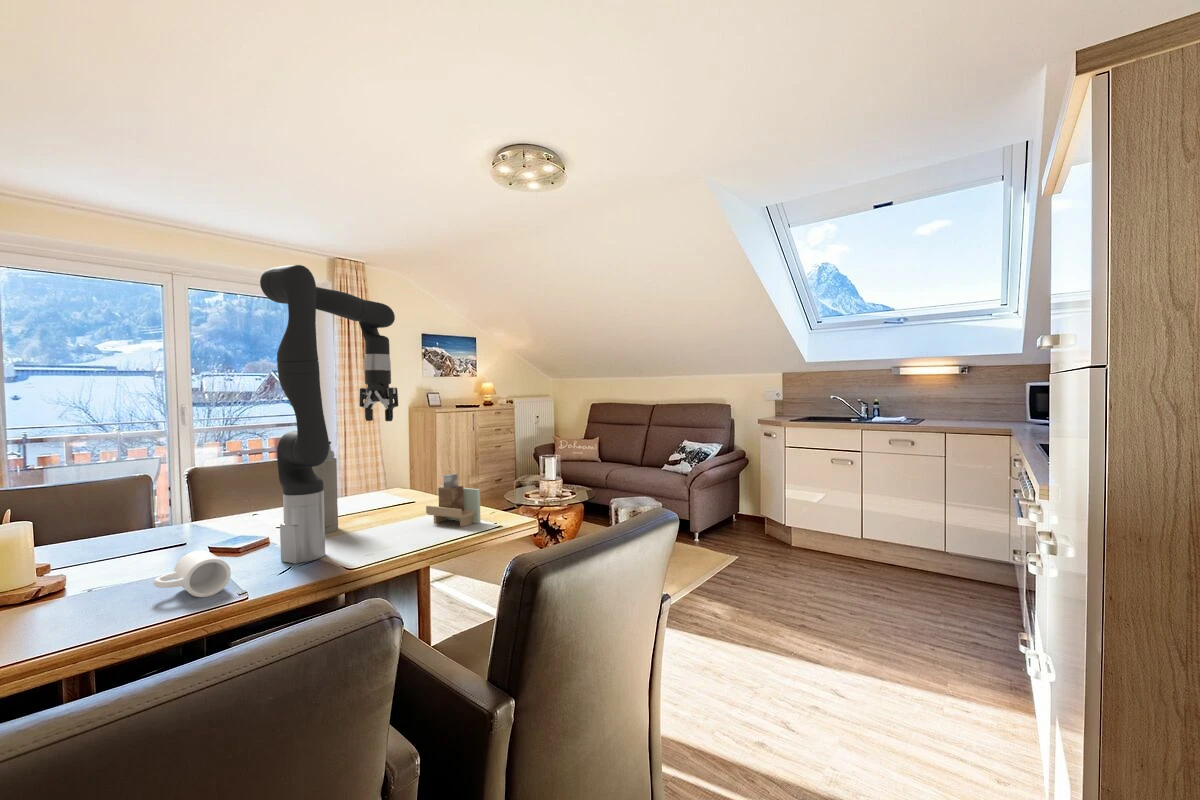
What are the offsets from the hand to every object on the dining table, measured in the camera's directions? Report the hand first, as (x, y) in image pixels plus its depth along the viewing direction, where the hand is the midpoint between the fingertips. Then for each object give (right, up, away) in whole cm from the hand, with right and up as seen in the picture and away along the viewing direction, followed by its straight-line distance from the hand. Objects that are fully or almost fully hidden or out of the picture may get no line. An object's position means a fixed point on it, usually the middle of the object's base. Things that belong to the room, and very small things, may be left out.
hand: (379, 421), depth 161 cm
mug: (-19, -36, -50) cm, 64 cm away
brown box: (+21, -30, +6) cm, 37 cm away
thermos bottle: (-17, -35, 0) cm, 39 cm away
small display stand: (+21, -34, +7) cm, 40 cm away
